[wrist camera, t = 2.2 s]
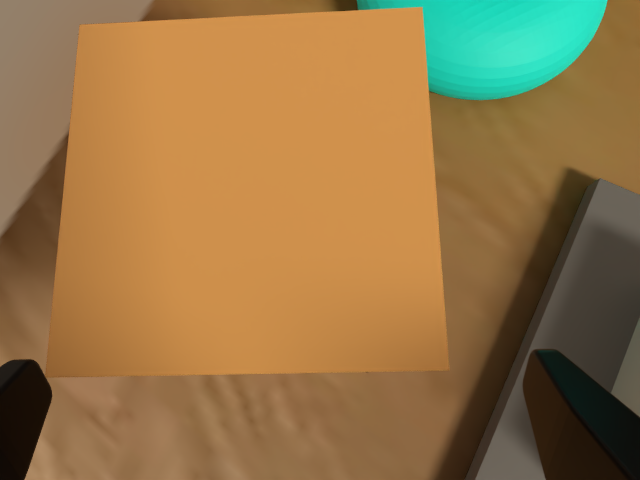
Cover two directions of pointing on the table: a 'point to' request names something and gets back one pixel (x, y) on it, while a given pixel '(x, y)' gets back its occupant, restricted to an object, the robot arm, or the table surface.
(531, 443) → the socket
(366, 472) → the table surface
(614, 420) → the robot arm
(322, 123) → the plug
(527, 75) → the donuts
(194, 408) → the table surface
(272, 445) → the table surface
